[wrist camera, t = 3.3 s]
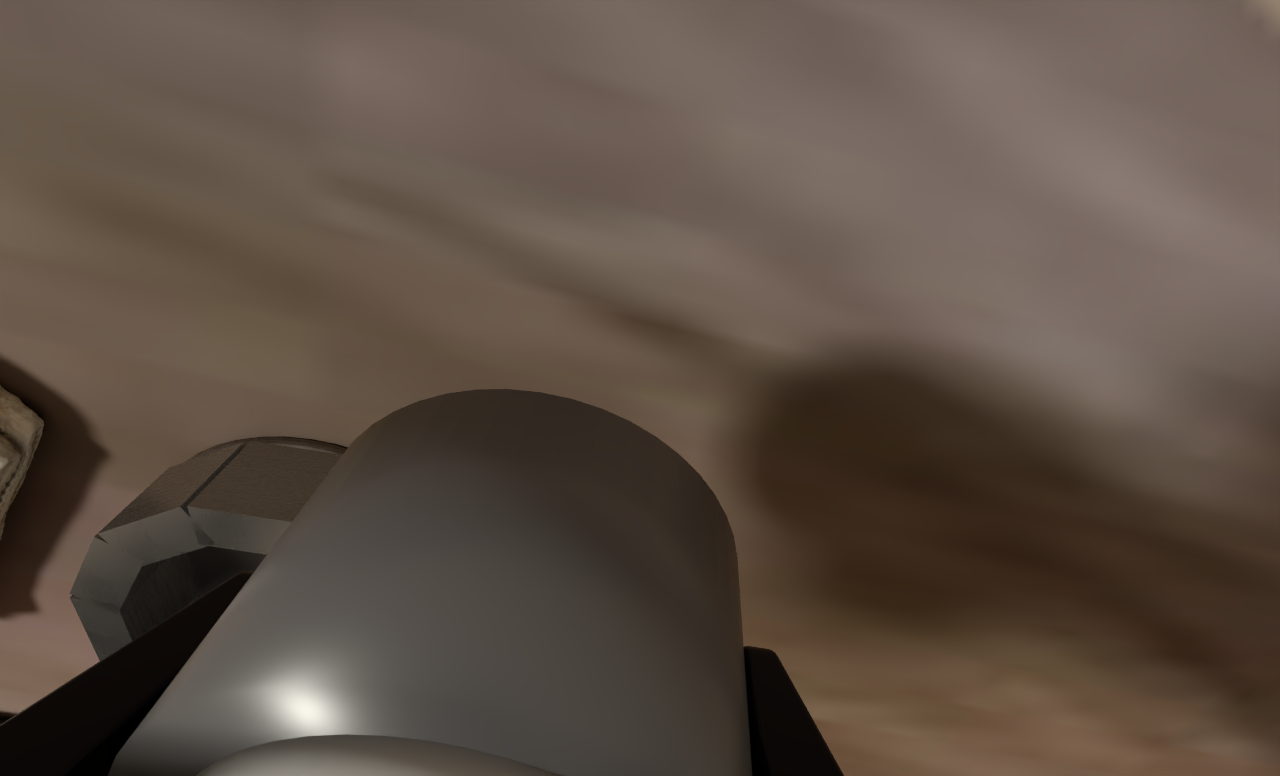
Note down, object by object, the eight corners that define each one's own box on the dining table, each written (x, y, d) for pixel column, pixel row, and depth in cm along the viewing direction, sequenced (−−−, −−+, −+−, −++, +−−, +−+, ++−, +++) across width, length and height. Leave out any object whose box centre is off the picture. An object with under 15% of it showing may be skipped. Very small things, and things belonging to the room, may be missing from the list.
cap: (696, 716, 11) (696, 1096, 7) (345, 663, 11) (162, 1017, 7) (783, 429, 8) (862, 832, 4) (293, 354, 8) (-74, 694, 4)
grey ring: (497, 703, 23) (473, 790, 20) (198, 658, 23) (137, 740, 20) (504, 469, 17) (473, 549, 15) (111, 409, 17) (14, 480, 15)
